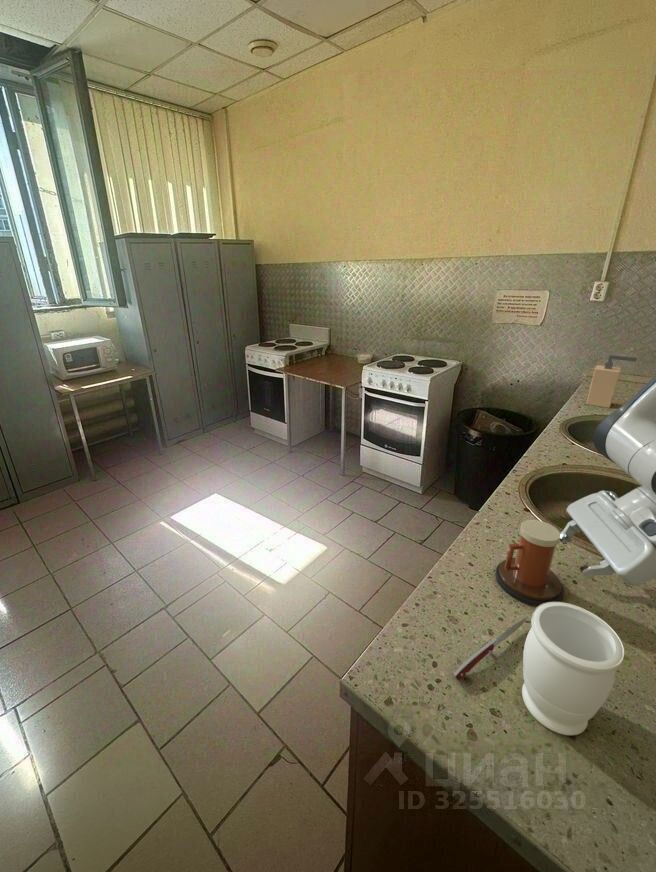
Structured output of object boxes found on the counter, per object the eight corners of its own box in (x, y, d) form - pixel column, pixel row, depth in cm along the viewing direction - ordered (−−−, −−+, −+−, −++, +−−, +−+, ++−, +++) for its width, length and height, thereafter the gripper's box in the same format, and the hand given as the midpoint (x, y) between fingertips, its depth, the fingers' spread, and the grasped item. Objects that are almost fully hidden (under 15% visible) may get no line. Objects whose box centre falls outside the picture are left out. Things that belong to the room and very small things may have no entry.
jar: (531, 659, 65) (549, 589, 60) (606, 708, 58) (634, 634, 53) (501, 702, 59) (518, 628, 54) (581, 764, 52) (610, 686, 46)
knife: (456, 687, 62) (458, 673, 60) (449, 680, 63) (451, 667, 61) (529, 626, 71) (532, 613, 70) (522, 621, 72) (525, 608, 71)
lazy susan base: (547, 565, 85) (548, 561, 85) (573, 610, 74) (575, 606, 74) (488, 560, 87) (489, 556, 87) (505, 603, 76) (506, 599, 76)
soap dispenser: (585, 404, 177) (598, 355, 169) (588, 399, 183) (600, 352, 175) (621, 409, 169) (636, 359, 161) (623, 404, 175) (637, 355, 167)
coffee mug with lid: (538, 558, 86) (549, 511, 81) (573, 598, 75) (589, 547, 71) (488, 561, 85) (497, 514, 81) (517, 602, 75) (529, 550, 71)
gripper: (599, 477, 81) (538, 514, 86) (670, 543, 62) (587, 585, 67) (618, 497, 82) (557, 532, 87) (693, 567, 63) (610, 607, 68)
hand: (570, 556), depth 77 cm, fingers open, 8 cm apart
